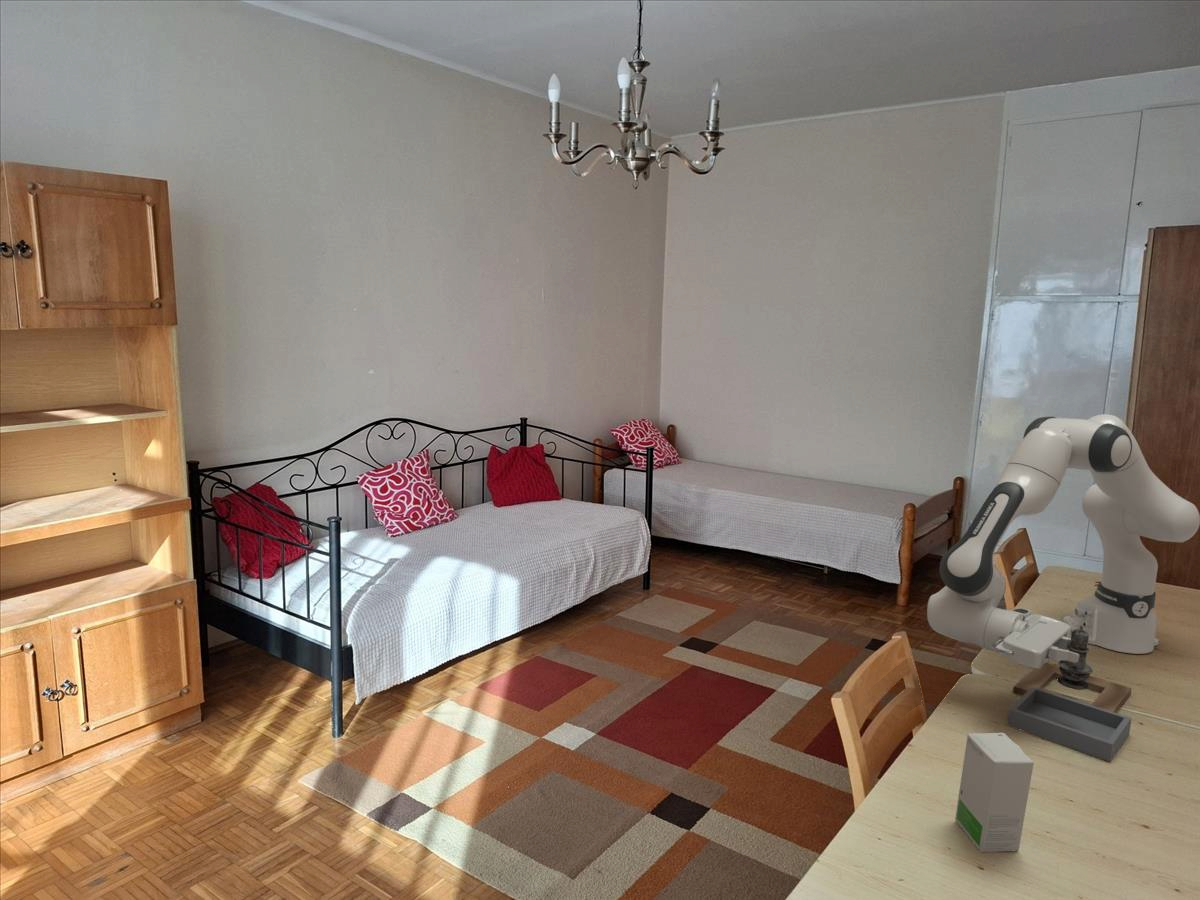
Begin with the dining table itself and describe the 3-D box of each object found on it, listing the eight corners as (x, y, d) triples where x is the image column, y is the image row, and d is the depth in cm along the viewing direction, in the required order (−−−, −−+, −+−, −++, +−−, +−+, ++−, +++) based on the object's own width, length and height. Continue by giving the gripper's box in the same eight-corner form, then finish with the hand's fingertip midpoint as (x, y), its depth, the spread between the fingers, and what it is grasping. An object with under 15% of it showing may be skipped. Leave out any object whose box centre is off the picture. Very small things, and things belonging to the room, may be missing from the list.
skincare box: (954, 820, 134) (964, 731, 131) (993, 819, 134) (1003, 730, 131) (981, 855, 125) (993, 761, 123) (1023, 853, 126) (1035, 760, 123)
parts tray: (1006, 725, 164) (1008, 708, 163) (1030, 701, 174) (1032, 686, 173) (1109, 762, 152) (1112, 744, 151) (1129, 734, 161) (1131, 717, 161)
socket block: (1012, 692, 178) (1013, 686, 177) (1040, 667, 190) (1041, 661, 190) (1108, 724, 165) (1109, 717, 165) (1130, 694, 178) (1131, 688, 178)
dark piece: (1094, 692, 157) (1104, 633, 155) (1061, 688, 159) (1069, 629, 156) (1084, 678, 163) (1093, 621, 161) (1051, 674, 164) (1060, 617, 162)
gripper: (989, 632, 161) (1068, 654, 151) (1025, 605, 175) (1099, 625, 166) (986, 662, 162) (1063, 686, 152) (1022, 633, 176) (1095, 654, 167)
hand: (1082, 654), depth 159 cm, fingers closed on dark piece, 3 cm apart
